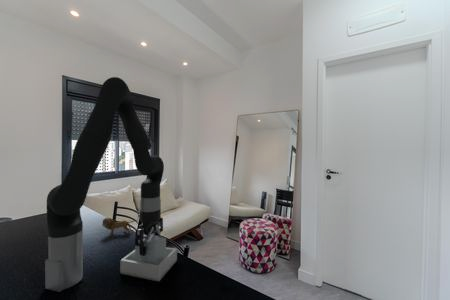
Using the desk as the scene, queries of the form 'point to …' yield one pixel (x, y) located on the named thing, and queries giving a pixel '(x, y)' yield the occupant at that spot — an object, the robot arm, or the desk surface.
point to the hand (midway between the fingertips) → (150, 249)
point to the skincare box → (152, 250)
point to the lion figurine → (115, 225)
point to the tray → (148, 266)
